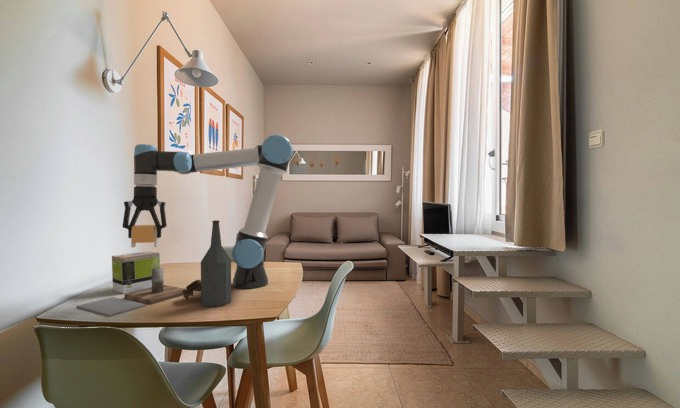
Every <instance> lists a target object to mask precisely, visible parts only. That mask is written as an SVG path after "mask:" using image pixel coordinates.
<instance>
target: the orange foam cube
mask: <svg viewBox="0 0 680 408" xmlns="http://www.w3.org/2000/svg"><path fill="white" fill-rule="evenodd" d="M155 229H157V228H156V225H155V224H137V225H136V224H135V226H132V243H136V244H137V243H139V244H140V243H143V244H144V243H146V244H147V243H149V244H150V243H154V242H155Z"/></svg>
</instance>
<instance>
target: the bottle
mask: <svg viewBox="0 0 680 408" xmlns="http://www.w3.org/2000/svg"><path fill="white" fill-rule="evenodd" d="M211 223H212V228H211V229H212V230H211V236H210V237H211V238H210V246H209V248H208V249H207V251H206V253H205V254H204V256H203V258H202V259H201V261H200V281H201V291H200V303H201V305H202V306H204V307H206V308H218V307H222V306H225V305H228V304H229V303H231V300H232V259H231V258H230V256H229V255H228V253H227V252H226V250H225V249H224V247H223V245H222V239H221V231H220V220H215V219H214V220H212V222H211Z"/></svg>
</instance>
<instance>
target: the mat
mask: <svg viewBox="0 0 680 408" xmlns="http://www.w3.org/2000/svg"><path fill="white" fill-rule="evenodd" d="M146 305H147V303H143V302H138V301H134V300H129V299H125V298H120V297H115V296H111V297H107V298H102V299H99V300H95V301H90V302H86V303H82V304H77V305H76V306H75V307H76V308H77V309H81V310H84V311H88V312H92V313H95V314H99V315H103V316H106V317H113V316H117V315H120V314H124V313H127V312H131V311H134V310H137V309H141V308H143V307H144V308H145V307H146Z"/></svg>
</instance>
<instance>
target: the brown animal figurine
mask: <svg viewBox="0 0 680 408" xmlns="http://www.w3.org/2000/svg"><path fill="white" fill-rule="evenodd" d="M186 289H187V290H186ZM194 291H195V292H201V279H195V280H194V281H192V282H191V283H190V284H189V283H188V285H187V286H186V287H185V288H184V290H183V291H182V292H183V293H184V295H183V298H185V299H186V300H188V299H189V297H194Z"/></svg>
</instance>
